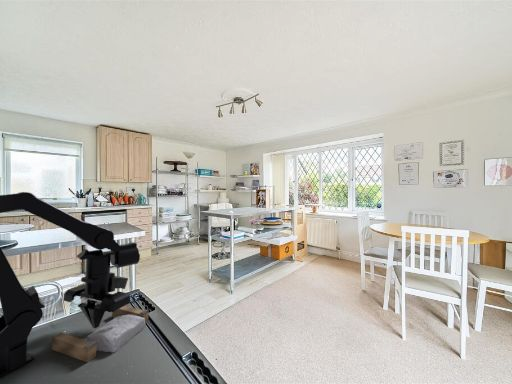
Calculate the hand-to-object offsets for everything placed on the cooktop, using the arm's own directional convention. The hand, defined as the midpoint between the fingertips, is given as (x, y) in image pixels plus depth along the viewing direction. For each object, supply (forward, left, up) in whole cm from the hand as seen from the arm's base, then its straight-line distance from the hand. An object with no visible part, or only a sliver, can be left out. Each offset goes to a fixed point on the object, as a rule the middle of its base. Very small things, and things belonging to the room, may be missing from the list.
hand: (96, 327), depth 63 cm
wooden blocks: (+4, 0, -1) cm, 4 cm away
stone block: (+7, 0, -2) cm, 7 cm away
